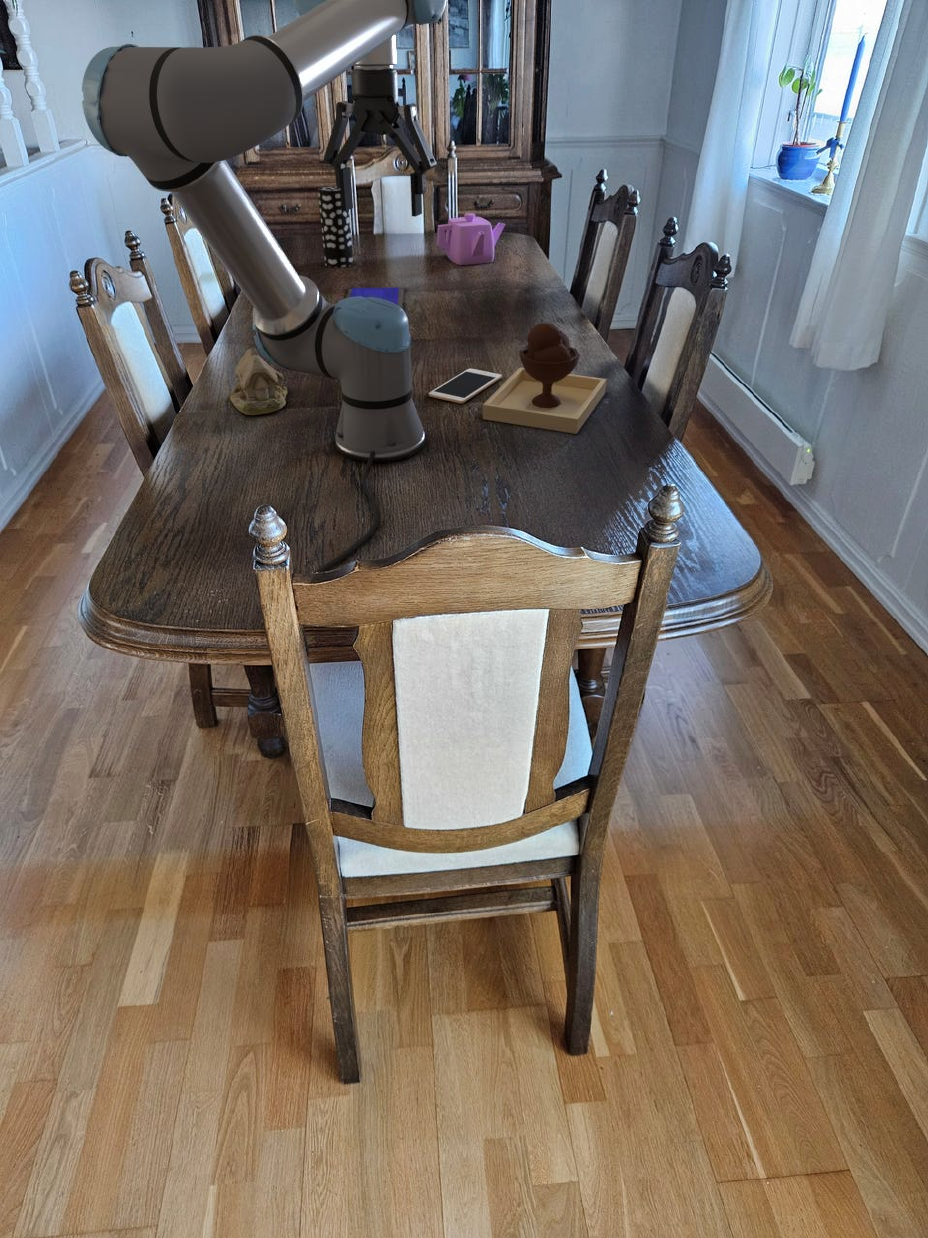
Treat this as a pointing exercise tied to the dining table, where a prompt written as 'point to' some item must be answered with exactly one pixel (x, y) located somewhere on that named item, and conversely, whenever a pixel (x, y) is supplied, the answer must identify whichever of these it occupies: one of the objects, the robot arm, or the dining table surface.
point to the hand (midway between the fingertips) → (381, 212)
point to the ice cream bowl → (548, 360)
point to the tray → (568, 417)
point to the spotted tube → (335, 228)
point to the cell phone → (465, 385)
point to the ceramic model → (257, 386)
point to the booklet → (379, 294)
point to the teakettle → (469, 239)
